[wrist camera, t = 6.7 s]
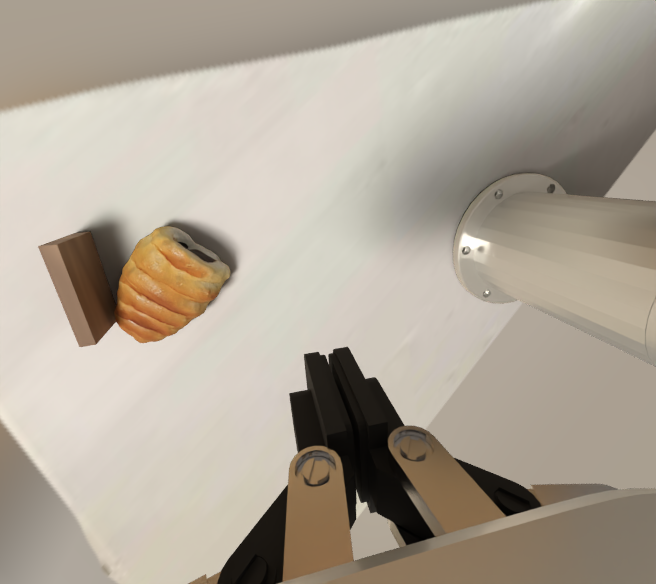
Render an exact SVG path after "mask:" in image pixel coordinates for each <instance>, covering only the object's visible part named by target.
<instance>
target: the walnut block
mask: <svg viewBox="0 0 656 584" xmlns="http://www.w3.org/2000/svg"><path fill="white" fill-rule="evenodd" d="M38 247H39V250H40V252H41V255H42V257H43V259H44V262H45V264H46V267H47V269H48V272H49V274H50V276H51V279H52V281H53V284H54V286H55V289H56V291H57V293H58V296H59V298H60V301H61V303H62V305H63V308H64V310H65V313H66V315H67V318H68V320H69V322H70V325H71V327H72V330H73V332H74V335H75V337H76V339H77V342H78V344H79V347H83V346H89V345H96V344H97V343H98V341H99V340H100V339H101V338H102V337H103V336H104V335H105V334H106V332H107V331H108V330H109V329H110V328H111V327H112V326H113V324H114V323H115V322H116V320H115V313H114V311H115V308H116V304H115V301H114V298H113V296H112V293H111V290H110V287H109V284H108V281H107V278H106V275H105V272H104V269H103V267H102V264H101V261H100V258H99V255H98V252H97V249H96V246H95V243H94V241H93V238H92V235H91V232H81V233H74V234H71V235H68V236H66V237H63V238H60V239H57V240H55V241H52V242H49V243H46V244H44V245H41V246H38Z"/></svg>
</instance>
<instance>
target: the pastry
mask: <svg viewBox="0 0 656 584" xmlns="http://www.w3.org/2000/svg"><path fill="white" fill-rule="evenodd" d="M229 277H230V269H229V266H228V265H226V264H224V263H222V262H221V261H220V258H219V257H218V256H217V255H216V254H215V253H213V252H212V251H211V250H208V249H206V248H205V247H203V246H201V245H199V244H196V243H195V242H194V241H193V240H192V238H191V237H190V236H189V235H188V234H187V233H185V232H183V231H181V230H180V229H178V228H175V227H170V226H166V227H160V228H157V229H155V230H154V231H153V232H152V233H151V234H150V235H148V236H146V237H145V238H143V239H141V240H140V241H139V242H138V243H137V245H136V247H135V249H134V251H133V253H132V255H131V256H130V259H129V260H128V262H127V263H126V264H125V266H124V267H123V269H122V275H121V277H120V280H119V288H118V291H117V296H118V297H117V305H116V308H115V311H114V313H115V320H116V322H117V323H118V325H119V326H120V328H121V329H122V330H124V331H125V332H126V333H128V334H129V335H131V336H133V337H134V338H135V340H137V341H138V342H140V343H147V342H151V341H153V342H155V341H159V340H162V339H164V338H165V337H167V336H170V335H173V334H175V333H177V332H178V330H179V329H182V328H183V327H184V326H186V325H187V324H188V323H189V322H190V321H191V320H192V319H194V318H195V317H198V316H200V315H201V314H203V313H204V312H205V310H206V308H207V305H208V304H209V302H210V301H211V300H213V299H215V298H216V297H217V295H218V294H219V292H220V289H221V287H222V285H223V283H224V282H225V281H226V280H227V279H228V278H229Z"/></svg>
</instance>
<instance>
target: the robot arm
mask: <svg viewBox="0 0 656 584" xmlns="http://www.w3.org/2000/svg"><path fill="white" fill-rule="evenodd" d="M453 262H454V267H455V271H456V275H457V277H458V279H459V281H460V283H461V284H462V285H463V287H464V288H465V289H466V290H467V291H468V292H470V293H471V294H472V295H474V296H475V297H477V298H479V299H481V300H483V301H486V302H490V303H499V304H504V303H509V302H514V301H517V300H519V301H521V302H523V303H525V304H528V305H529V306H532V307H534V308H536V309H538V310H540V311H542V312H544V313H546V314H548V315H550V316H552V317H554V318H556V319H558V320H560V321H562V322H564V323H566V324H569V325H571V326H573V327H575V328H577V329H579V330H581V331H583V332H585V333H587V334H589V335H591V336H593V337H595V338H597V339H599V340H601V341H603V342H605V343H607V344H610V345H611V346H614V347H616V348H618V349H620V350H622V351H624V352H626V353H628V354H630V355H632V356H634V357H637V358H639V359H640V360H642V361H644V362H646V363H649V364H651V365H653V366H655V367H656V202H655V201H643V200H630V199H617V198H605V197H592V196H579V195H567V193H566V192H565V190H564V189H563V187H562V186H561V185H560V184H559V183H558V182H557V181H555V180H553V179H552V178H550V177H548V176H544V175H541V174H532V173H523V174H514V175H511V176H508V177H505V178H502V179H500V180H498V181H497V182H495V183H493V184H491V185H490V186H489V187H487V188H486V189H485V190H484V191H482V192H481V193H480V194H479V195H478V197H477V198H476V199H475V200H474V201H473V202H472V203H471V205H470V206H469V208H468V209H467V211H466V212H465V214H464V215H463V218H462V220H461V222H460V224H459V226H458V229H457V232H456V236H455V239H454V247H453ZM304 361H305V370H306V380H307V389H308V390H305V391H299V392H294V393H289V394H290V403H291V410H292V417H293V425H294V431H295V438H296V444H297V451H298V454H297V455H295V456H294V458H293V460H292V461H291V463H290V467H289V477H288V485H287V486H286V487H285V489H284V490H283V491H282V492H281V494H280V495H279V496H278V498H277V499H276V500H275V501H274V503H273V504H272V505H271V506H270V508H269V509H268V510H267V511H266V513H265V514H264V515H263V516H262V518H261V519H260V520H259V521H258V523H257V524H256V525H255V526H254V528H253V529H252V530H251V531H250V533H249V534H248V535H247V536H246V538H245V539H244V540H243V542H242V543H241V544H240V545H239V547H238V548H237V549H236V550H235V552H234V553H233V554H232V555H231V557H230V558H229V559H228V561H227V562H226V564H225V565H224V567H223V569H222V570H221V572H219V573H217V574H215V575H213V576H211V577H209V578H208V579H207V576H206V574H205V575H203V576H201V577H200V578H198V579H196V580H194V581H192V582H190V583H188V584H656V489H655V488H651V489H650V488H649V489H648V488H629V489H616V488H613V487H611V486H608V485H603V484H547V485H546V484H545V485H531V486H530V489H526V488H524V487H523V486H521V485H519V484H517V483H515V482H513V481H510V480H508V479H506V478H503V477H500V476H498V475H496V474H493V473H491V472H488V471H485V470H483V469H481V468H478V467H476V466H473V465H471V464H468V463H466V462H463V461H461V460H458V459H456V458H453V457H452V456H451V455H450V454H449V452H448V451H447V450H446V449H445V448H444V447H443V446H442V444H441V443H440V442H439V441H438V440H437V439H436V438H435V437H434V436H433V435H432V434H431V433H430V432H429V431H427V430H425V429H423V428H420V427H417V426H404V424H403V422H402V421H401V419H400V417H399V416H398V414H397V412H396V410H395V409H394V407H393V405H392V404H391V402H390V400H389V399H388V397H387V395H386V393H385V392H384V390H383V388H382V387H381V385H380V383H379V382H378V380H377V379H376V378H375V377H373V378H368V379H365V378H364V376H363V374H362V372H361V370H360V368H359V366H358V365H357V363H356V361H355V359H354V357H353V355H352V353H351V351H350V349H349V348H348V347H344V348H338V349H334V350H333V353H331V354H329V364H328V362H327V359H326V356H325V355H320V354H319V352H314V353H309V354H304ZM356 490H357V493H358V496H359V499H360V501H361V503H363V502H367V504H368V507H369V510H370V513H374V512H377V513H378V514H380V515H382V516H383V517H385V518H387V521H388V525H389V527H390V530H391V532H392V534H393V535H394V537H395V539H396V541H397V543H398V545H399V547H400V548H396V549H393V550H389V551H386V552H383V553H379V554H376V555H372V556H369V557H365V558H362V559H359V560H355V561H354V559H353V551H352V542H351V534H350V529H351V528H352V526H353V524H354V522H355V520H356Z"/></svg>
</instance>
